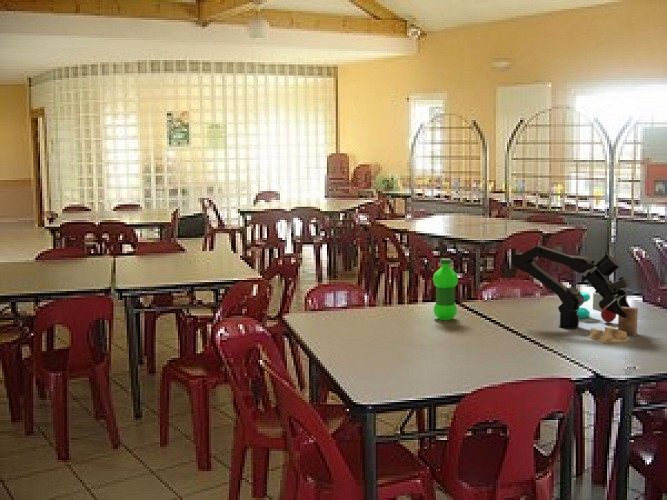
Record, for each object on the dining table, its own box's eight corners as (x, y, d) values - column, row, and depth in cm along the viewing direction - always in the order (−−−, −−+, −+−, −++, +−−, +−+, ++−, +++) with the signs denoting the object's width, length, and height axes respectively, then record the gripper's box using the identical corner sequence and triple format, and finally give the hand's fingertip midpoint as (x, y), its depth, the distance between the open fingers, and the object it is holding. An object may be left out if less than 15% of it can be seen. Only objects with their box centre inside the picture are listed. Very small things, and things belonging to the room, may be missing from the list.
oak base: (589, 337, 294) (589, 328, 294) (609, 335, 297) (609, 326, 297) (607, 343, 285) (607, 334, 284) (627, 341, 288) (627, 332, 287)
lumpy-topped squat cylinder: (589, 309, 347) (590, 289, 346) (603, 304, 356) (604, 285, 354) (612, 312, 339) (612, 292, 338) (626, 308, 348) (626, 288, 347)
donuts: (562, 290, 335) (586, 290, 335) (561, 314, 337) (585, 314, 336) (568, 295, 325) (593, 295, 325) (568, 319, 327) (592, 319, 326)
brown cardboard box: (617, 333, 300) (618, 307, 299) (620, 332, 303) (621, 306, 302) (634, 336, 296) (635, 309, 295) (636, 334, 299) (637, 308, 298)
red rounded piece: (616, 325, 315) (617, 305, 314) (601, 324, 316) (602, 304, 315) (614, 321, 320) (615, 302, 319) (599, 321, 322) (600, 302, 321)
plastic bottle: (456, 316, 334) (457, 257, 331) (458, 321, 323) (458, 261, 320) (432, 316, 335) (433, 257, 332) (433, 321, 324) (433, 260, 321)
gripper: (608, 273, 292) (638, 306, 287) (623, 267, 307) (652, 298, 302) (586, 292, 298) (615, 325, 293) (602, 285, 313) (629, 316, 307)
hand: (628, 315), depth 298 cm, fingers open, 7 cm apart
